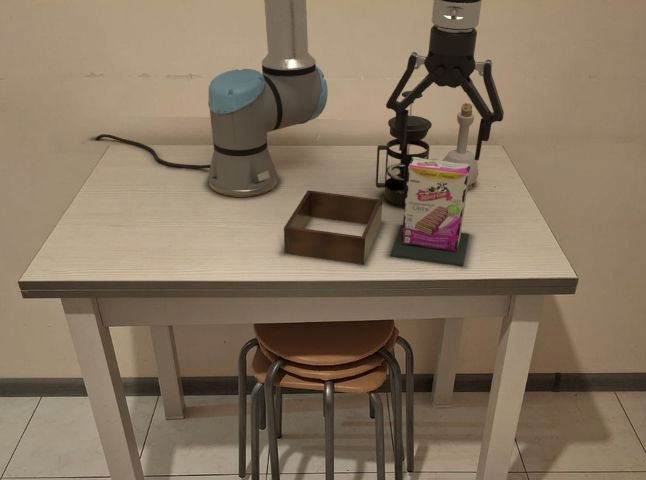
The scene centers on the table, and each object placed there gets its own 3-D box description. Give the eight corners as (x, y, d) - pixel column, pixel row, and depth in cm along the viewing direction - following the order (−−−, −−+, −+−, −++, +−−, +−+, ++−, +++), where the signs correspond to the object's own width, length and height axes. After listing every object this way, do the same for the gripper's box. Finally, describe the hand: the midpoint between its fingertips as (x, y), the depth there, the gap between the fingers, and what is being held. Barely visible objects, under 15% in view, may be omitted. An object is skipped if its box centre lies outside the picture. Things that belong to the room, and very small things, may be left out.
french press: (425, 189, 157) (435, 85, 143) (431, 208, 150) (442, 101, 135) (373, 188, 156) (378, 84, 142) (376, 208, 149) (381, 100, 135)
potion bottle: (475, 176, 163) (486, 99, 152) (476, 193, 156) (488, 113, 145) (438, 174, 164) (446, 97, 152) (437, 190, 157) (446, 111, 145)
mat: (390, 256, 134) (390, 253, 133) (400, 227, 143) (400, 224, 142) (462, 266, 131) (463, 263, 131) (468, 236, 141) (469, 233, 140)
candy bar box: (400, 245, 136) (406, 166, 125) (404, 233, 139) (411, 155, 129) (457, 253, 134) (468, 173, 124) (460, 241, 138) (471, 162, 127)
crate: (284, 253, 133) (283, 227, 130) (308, 214, 146) (307, 190, 143) (364, 264, 131) (365, 238, 128) (381, 223, 144) (382, 199, 140)
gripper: (373, 25, 111) (367, 152, 124) (532, 40, 107) (508, 169, 121) (382, 13, 117) (375, 136, 130) (533, 28, 113) (510, 152, 126)
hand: (439, 152), depth 125 cm, fingers open, 13 cm apart
